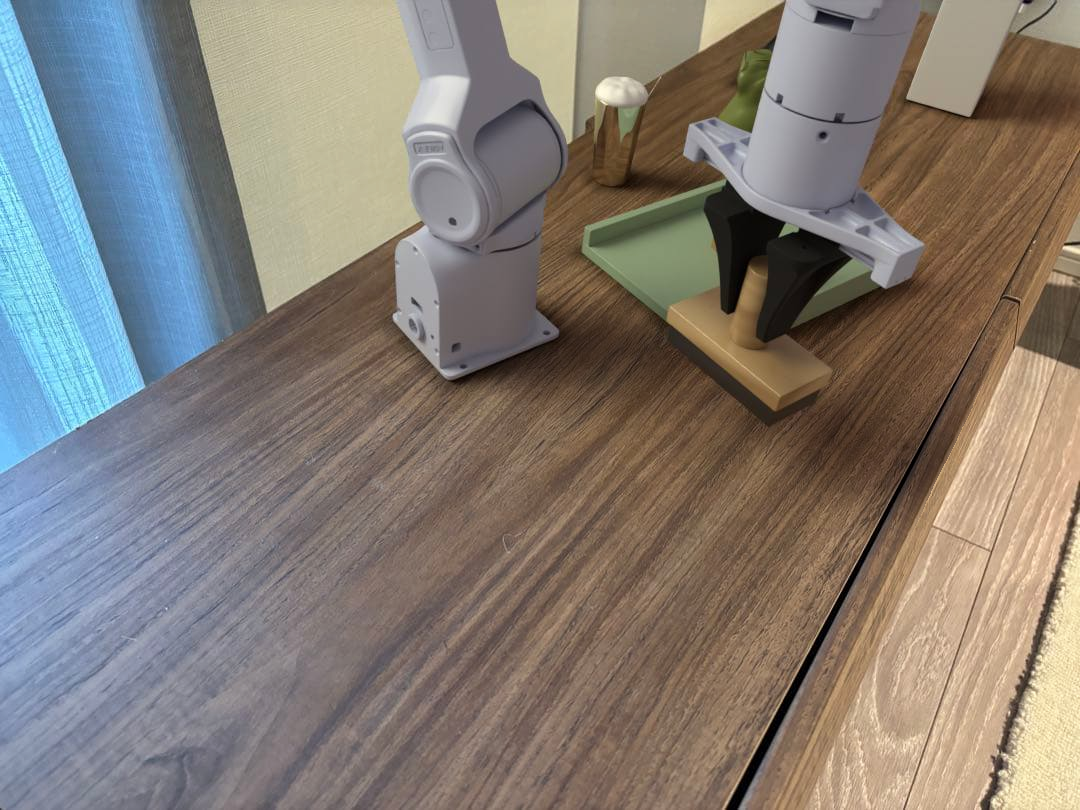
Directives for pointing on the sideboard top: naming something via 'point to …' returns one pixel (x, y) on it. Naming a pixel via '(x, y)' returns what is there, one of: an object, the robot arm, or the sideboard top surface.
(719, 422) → the sideboard top surface
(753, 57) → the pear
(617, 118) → the milkshake
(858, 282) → the tray
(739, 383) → the brush
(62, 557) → the sideboard top surface
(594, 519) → the sideboard top surface
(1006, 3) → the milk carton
